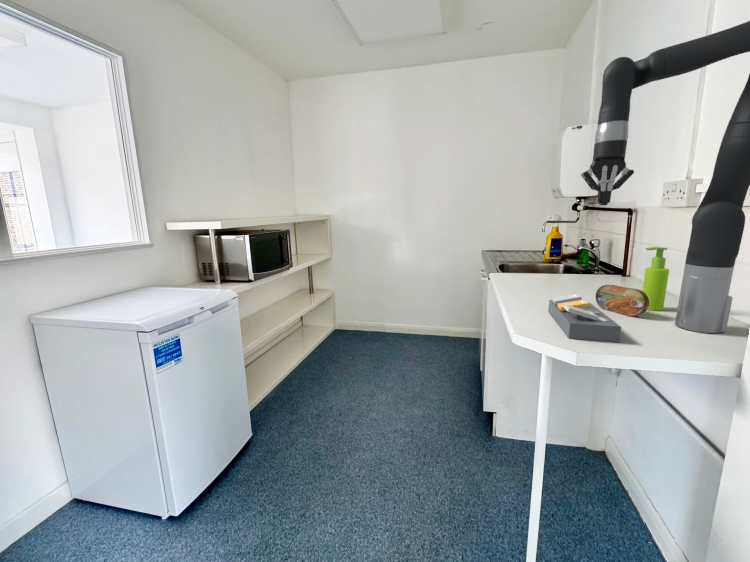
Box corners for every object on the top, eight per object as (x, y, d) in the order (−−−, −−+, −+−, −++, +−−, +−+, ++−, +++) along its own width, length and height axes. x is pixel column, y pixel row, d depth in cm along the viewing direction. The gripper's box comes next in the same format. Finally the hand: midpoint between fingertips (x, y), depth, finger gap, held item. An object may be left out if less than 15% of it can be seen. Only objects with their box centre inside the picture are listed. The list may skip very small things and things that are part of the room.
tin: (593, 307, 114) (596, 282, 112) (600, 306, 115) (603, 281, 113) (641, 319, 100) (645, 291, 99) (648, 318, 101) (653, 290, 100)
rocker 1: (577, 296, 103) (577, 293, 102) (581, 300, 99) (581, 296, 99) (552, 301, 105) (551, 297, 105) (555, 304, 101) (554, 301, 101)
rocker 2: (585, 302, 96) (584, 299, 96) (589, 306, 92) (589, 302, 92) (557, 307, 98) (557, 303, 98) (561, 310, 94) (560, 307, 94)
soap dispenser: (632, 306, 114) (640, 246, 110) (653, 306, 114) (662, 246, 110) (645, 311, 109) (654, 248, 105) (667, 311, 108) (678, 248, 104)
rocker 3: (591, 315, 90) (593, 312, 90) (596, 320, 86) (598, 316, 86) (563, 307, 91) (565, 303, 91) (567, 311, 87) (569, 307, 87)
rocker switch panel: (587, 314, 106) (588, 299, 105) (618, 342, 83) (621, 323, 82) (548, 312, 108) (549, 297, 108) (568, 338, 86) (570, 320, 85)
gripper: (632, 142, 97) (624, 205, 100) (579, 145, 100) (573, 205, 103) (645, 136, 89) (635, 204, 93) (588, 140, 93) (581, 205, 96)
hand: (603, 205), depth 98 cm, fingers closed
